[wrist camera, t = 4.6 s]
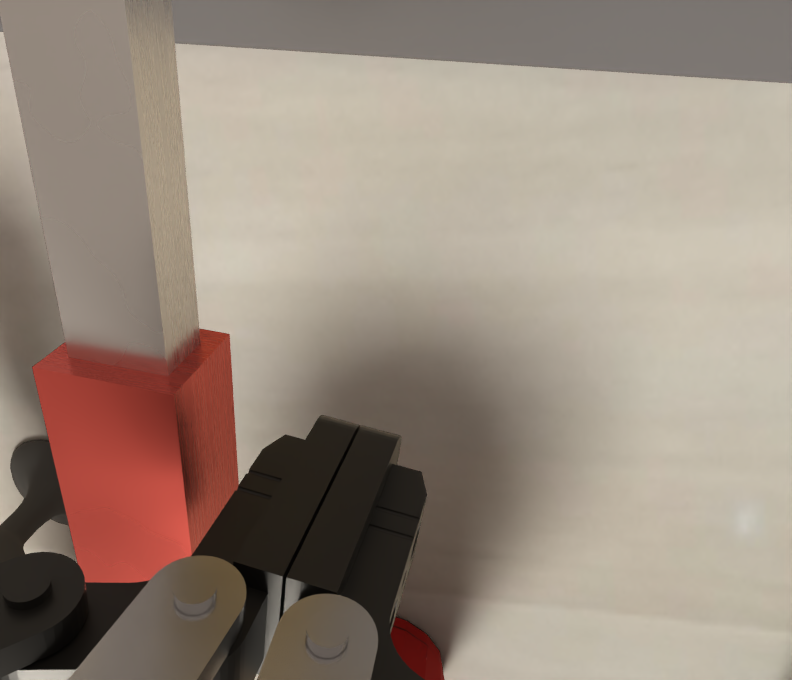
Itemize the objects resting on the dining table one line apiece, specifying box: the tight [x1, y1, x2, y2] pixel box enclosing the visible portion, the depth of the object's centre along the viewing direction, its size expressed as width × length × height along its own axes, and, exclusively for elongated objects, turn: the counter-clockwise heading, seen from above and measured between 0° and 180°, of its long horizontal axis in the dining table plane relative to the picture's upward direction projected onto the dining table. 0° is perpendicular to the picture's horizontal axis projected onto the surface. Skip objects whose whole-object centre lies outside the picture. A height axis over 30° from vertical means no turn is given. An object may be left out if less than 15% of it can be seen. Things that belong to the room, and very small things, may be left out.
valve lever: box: [0, 0, 239, 583], centre depth 9 cm, size 14×3×2 cm, turn 177°
